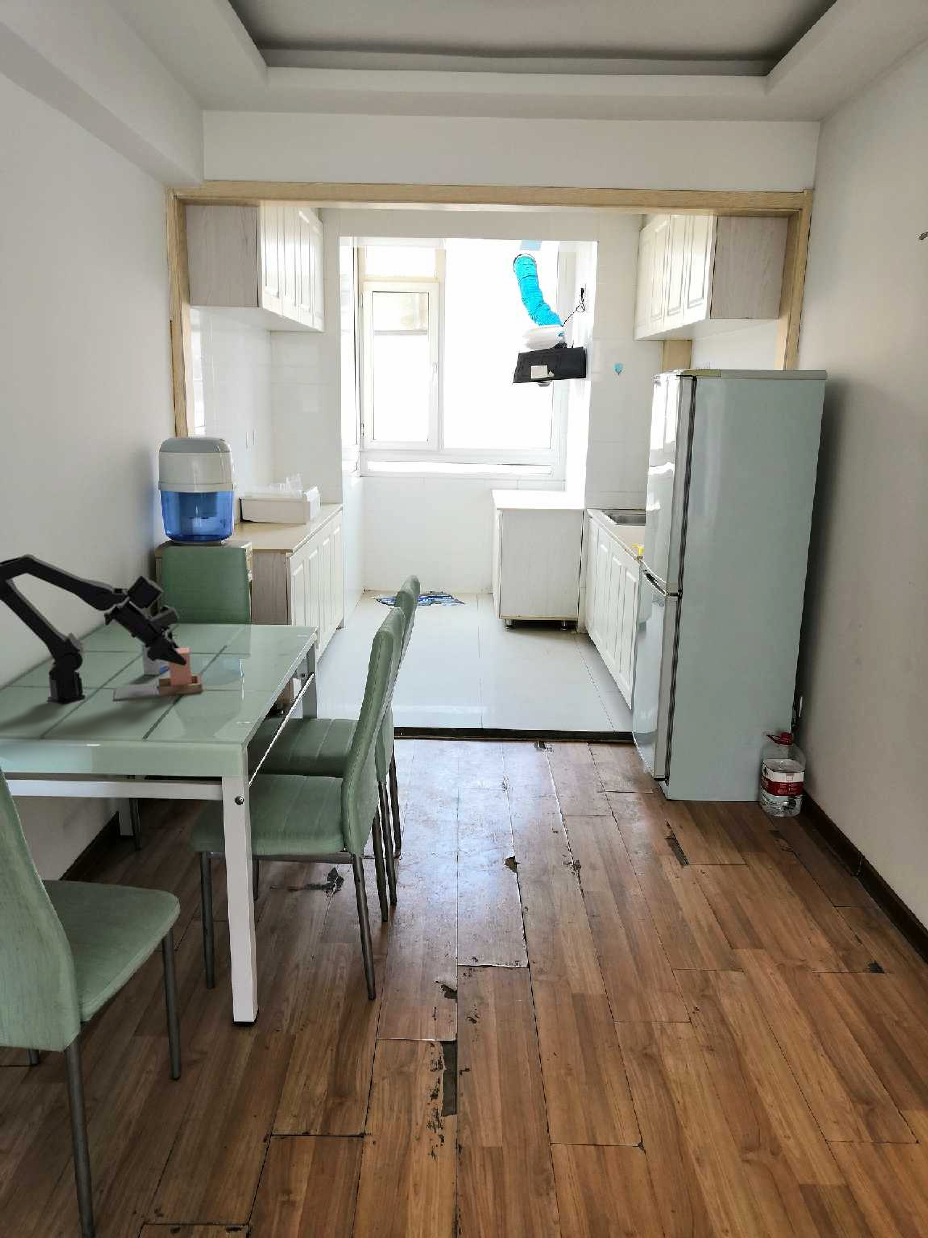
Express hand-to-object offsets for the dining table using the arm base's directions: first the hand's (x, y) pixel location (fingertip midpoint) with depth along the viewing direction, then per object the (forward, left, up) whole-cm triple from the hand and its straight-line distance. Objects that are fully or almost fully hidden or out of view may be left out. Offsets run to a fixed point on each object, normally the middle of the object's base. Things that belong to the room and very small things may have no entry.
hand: (185, 661), depth 236 cm
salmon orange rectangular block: (-1, +1, -7) cm, 7 cm away
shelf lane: (-1, +1, -7) cm, 7 cm away
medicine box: (+5, +19, -7) cm, 21 cm away
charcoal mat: (-10, +7, -7) cm, 14 cm away
